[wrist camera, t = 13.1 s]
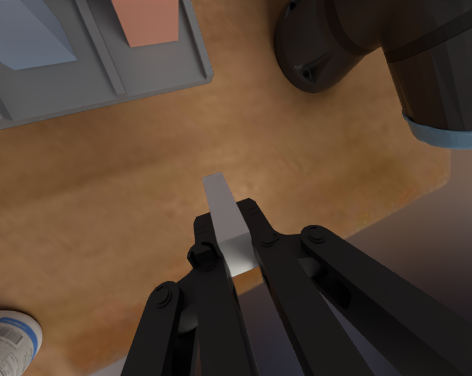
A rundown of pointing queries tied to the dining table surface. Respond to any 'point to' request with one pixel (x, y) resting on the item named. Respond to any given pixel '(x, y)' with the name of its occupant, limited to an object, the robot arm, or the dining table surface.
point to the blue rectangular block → (31, 35)
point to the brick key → (148, 20)
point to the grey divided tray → (102, 65)
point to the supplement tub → (17, 342)
